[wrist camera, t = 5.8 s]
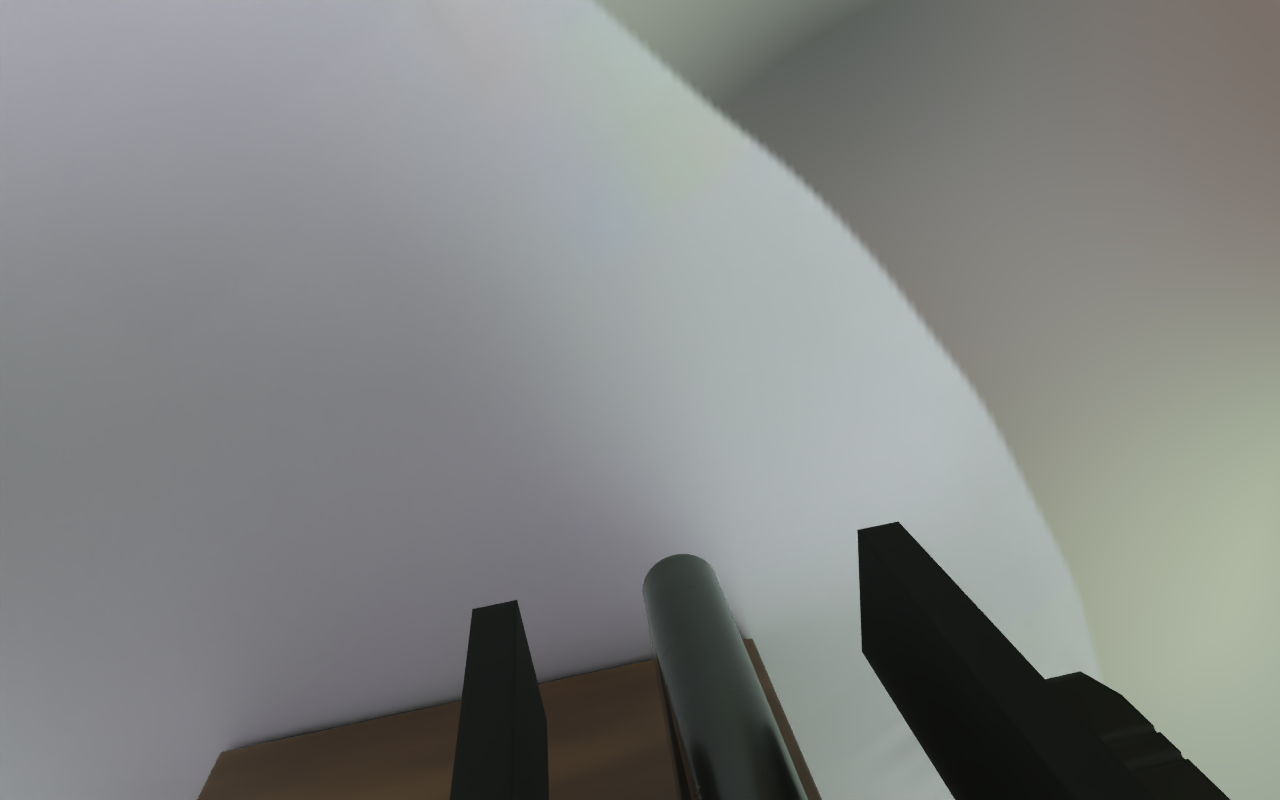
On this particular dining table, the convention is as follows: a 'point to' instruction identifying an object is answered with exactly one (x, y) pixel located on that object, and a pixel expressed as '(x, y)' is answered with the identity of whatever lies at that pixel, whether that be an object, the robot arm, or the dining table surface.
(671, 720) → the cupboard door
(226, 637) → the dining table surface
